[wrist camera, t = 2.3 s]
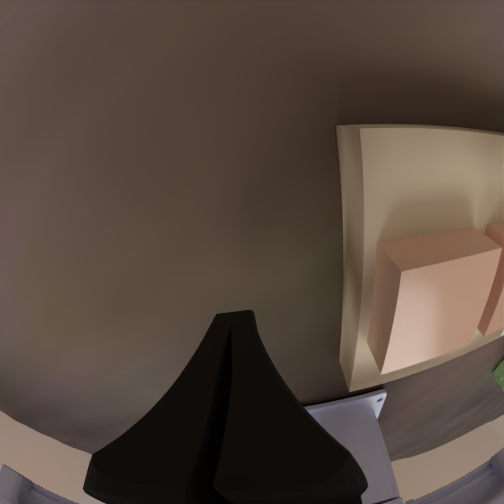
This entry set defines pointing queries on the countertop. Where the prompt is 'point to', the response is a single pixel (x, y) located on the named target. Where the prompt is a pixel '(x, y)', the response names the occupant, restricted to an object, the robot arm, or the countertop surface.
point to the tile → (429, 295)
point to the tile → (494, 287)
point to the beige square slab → (407, 215)
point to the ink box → (500, 374)
